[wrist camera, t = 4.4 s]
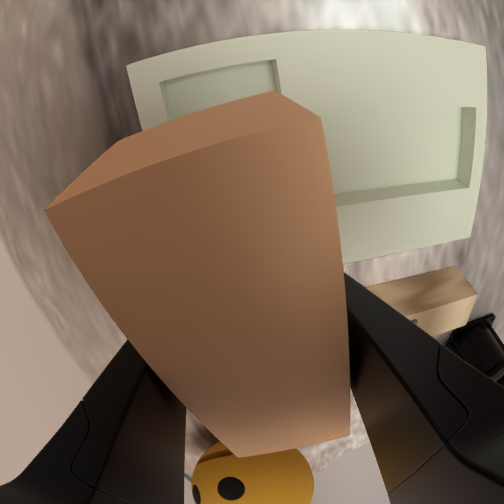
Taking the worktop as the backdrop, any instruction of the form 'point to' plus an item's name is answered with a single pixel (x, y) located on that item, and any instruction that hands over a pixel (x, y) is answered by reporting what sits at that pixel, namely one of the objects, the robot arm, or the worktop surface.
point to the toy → (252, 478)
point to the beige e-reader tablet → (431, 299)
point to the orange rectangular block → (224, 267)
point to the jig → (355, 120)
